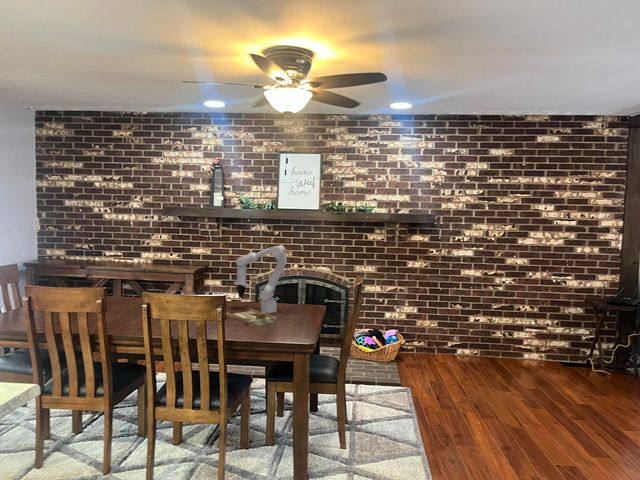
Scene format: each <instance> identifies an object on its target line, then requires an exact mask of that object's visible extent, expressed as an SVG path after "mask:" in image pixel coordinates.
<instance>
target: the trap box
mask: <svg viewBox="0 0 640 480" xmlns="http://www.w3.org/2000/svg"><path fill="white" fill-rule="evenodd" d="M258 313H262V312H261V311H259V310H257V309H253V308H249V311H243V312H235V313H231V312H228V311H226V312H225V315H226V316H227V317H230V318H234V319H235V320H238V321H241V322H244V325H245V326H248V327H250V328H251V327H257V326H258V327H259V326H262V325H264V326H265V325H269V324H276V323H277V322H278V317H277V316H274V315H272V314H270V313H264V314H266V319H260V320H256V314H258ZM254 314H255V315H254Z"/></svg>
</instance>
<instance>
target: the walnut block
mask: <svg viewBox="0 0 640 480" xmlns="http://www.w3.org/2000/svg"><path fill="white" fill-rule="evenodd" d="M266 314H267V313H266ZM266 314H264V313H258V314H256V313H255V316H256V320H260V319H266Z"/></svg>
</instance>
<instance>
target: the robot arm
mask: <svg viewBox="0 0 640 480" xmlns="http://www.w3.org/2000/svg"><path fill="white" fill-rule="evenodd" d="M267 255H270V256H273V257H274V258H275V259H276V261H277V263H276V265H275V266H274V267H275V268H274V270H273V271H272V274H271V275H270V278H269V280H268V282H267V284H266V286H265V287H264V289H263V290H262V291H261V292H260V294H259V298H260V312H262V313H266V314H271V313H277V301H276V299H274V298H273V297H274V295H275V290H276V286H277V283H278V282H279V279H280V278H281V276H282V274H283V271H284V269H285V267H286V265H287V261H288V260H287V250H286V247H285V246H283V245H281V244H280V245H275V246H271V247H268V248H265V249H263V250H261V251H258V252H253V251H252V252H251V251H250V252H249V253H248V254H243V255H242V256H239V257H238V258H236V260H235V264H236V280H235V281H233V284H234V285H236V286H235V288H236V290H237V293H238V298H244V294H245V292H246V289H247V288H250V284H249V283H247V265H249V264H252V263H254V262H257V261H258V259H259V258H263V257H265V256H267Z"/></svg>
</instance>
